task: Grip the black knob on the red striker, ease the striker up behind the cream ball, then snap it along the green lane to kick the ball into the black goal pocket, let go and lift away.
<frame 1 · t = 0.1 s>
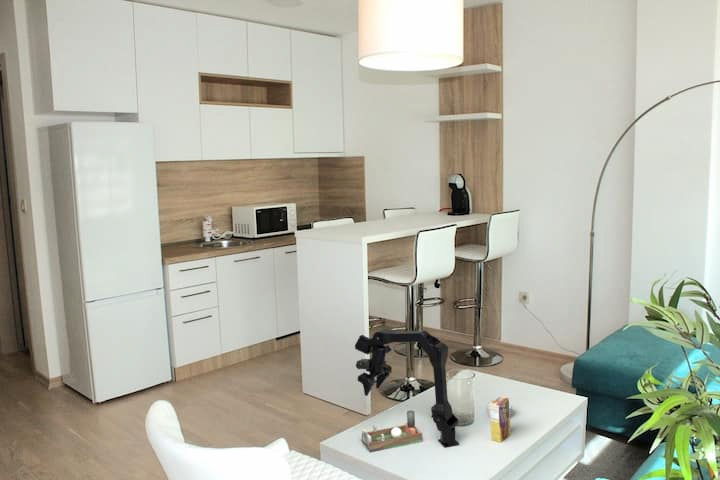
hand: (371, 391, 255), 15 cm above the table, tool pointing down, fingers open, 9 cm apart
striker: (411, 423, 244), point 6 cm above the table, slide at 0.0 cm
lane: (392, 441, 242), on the table
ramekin: (498, 416, 261), on the table
candy box: (500, 437, 241), on the table
ball: (396, 433, 242), point 3 cm above the table, touching lane
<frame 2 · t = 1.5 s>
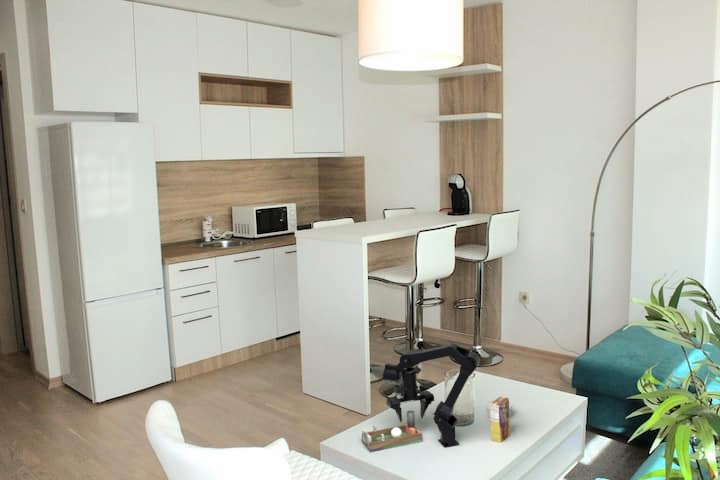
hand: (411, 419, 244), 8 cm above the table, tool pointing down, fingers open, 9 cm apart
nothing on the table moved.
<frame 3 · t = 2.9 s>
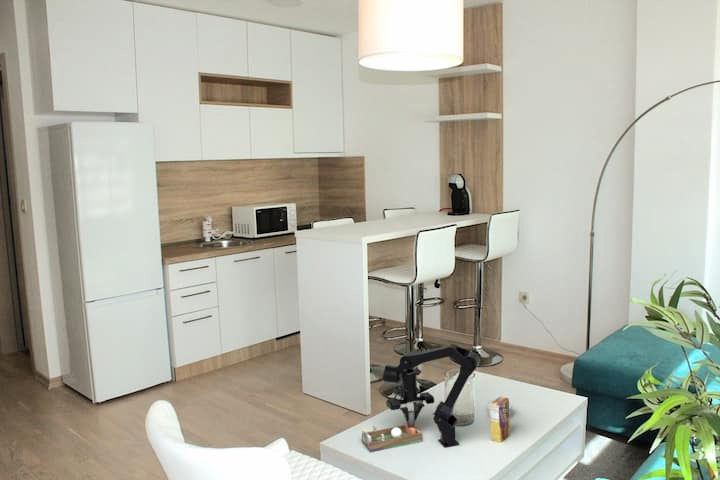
hand: (411, 421, 244), 7 cm above the table, tool pointing down, fingers closed on striker, 3 cm apart
striker: (411, 423, 244), point 6 cm above the table, slide at 0.0 cm, touching gripper
everything else where it was.
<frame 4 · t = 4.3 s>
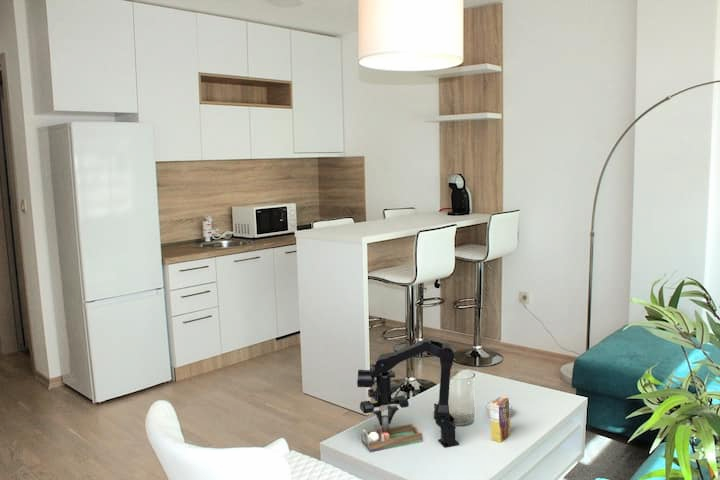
hand: (384, 424, 241), 7 cm above the table, tool pointing down, fingers closed on striker, 3 cm apart
striker: (385, 428, 241), point 6 cm above the table, slide at 11.2 cm, touching gripper
ball: (373, 437, 239), point 3 cm above the table, tilted 120°, touching lane
everything else where it was.
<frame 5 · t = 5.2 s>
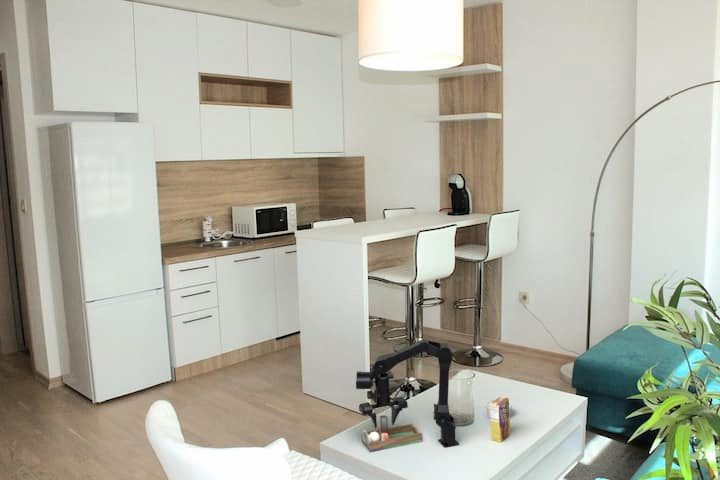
hand: (384, 426, 240), 7 cm above the table, tool pointing down, fingers open, 7 cm apart
striker: (384, 428, 240), point 6 cm above the table, slide at 11.6 cm
everything else where it was.
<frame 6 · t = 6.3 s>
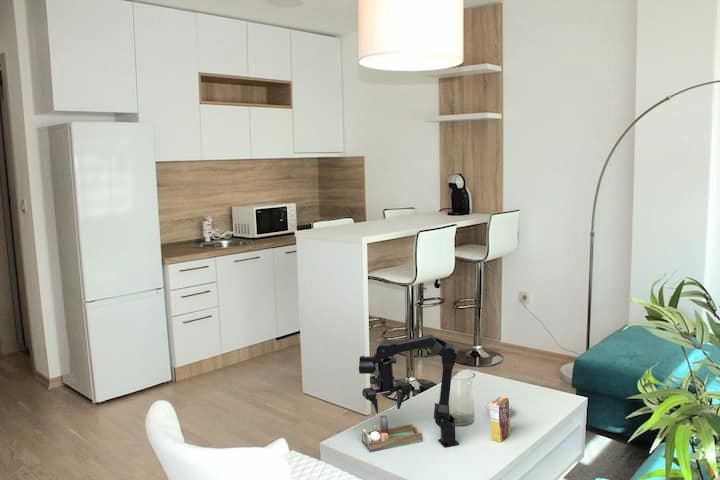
hand: (387, 411, 241), 13 cm above the table, tool pointing down, fingers open, 9 cm apart
ball: (375, 437, 240), point 3 cm above the table, tilted 134°, touching lane
everything else where it was.
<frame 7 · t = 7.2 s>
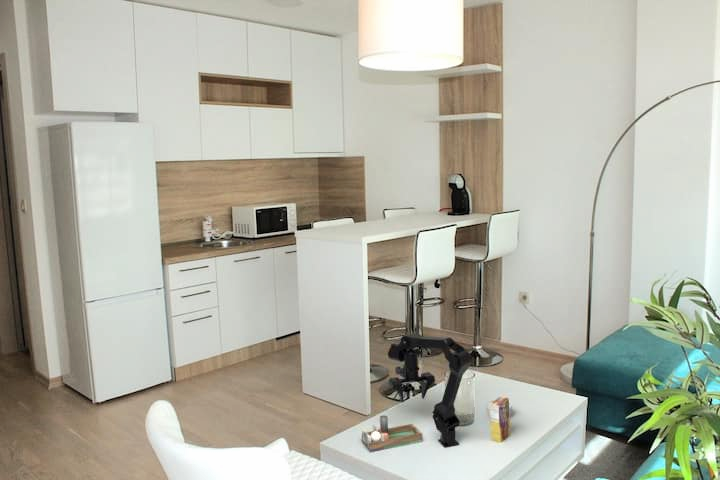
hand: (412, 400, 250), 13 cm above the table, tool pointing down, fingers open, 9 cm apart
ball: (375, 437, 240), point 3 cm above the table, tilted 143°, touching lane
everything else where it was.
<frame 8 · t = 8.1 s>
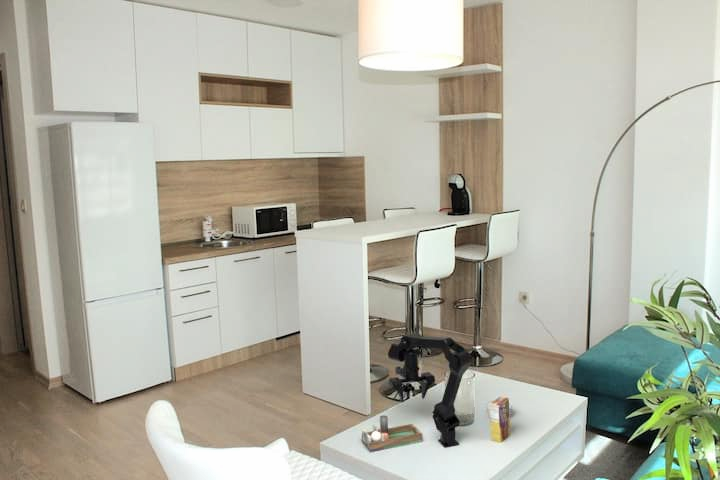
hand: (412, 400, 250), 13 cm above the table, tool pointing down, fingers open, 9 cm apart
nothing on the table moved.
at the end: ball 1.1 cm from the target spot, point 3.2 cm above the table; striker slide at 11.6 cm; the gripper is holding nothing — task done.
